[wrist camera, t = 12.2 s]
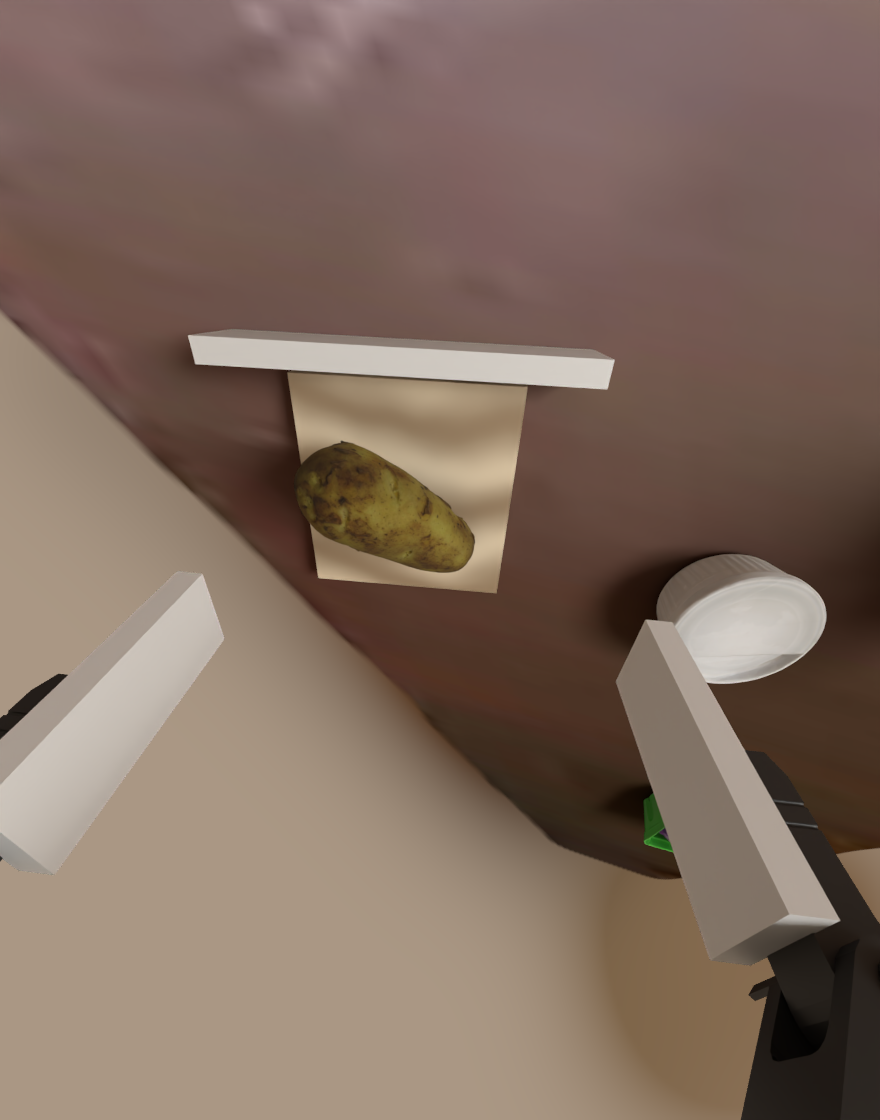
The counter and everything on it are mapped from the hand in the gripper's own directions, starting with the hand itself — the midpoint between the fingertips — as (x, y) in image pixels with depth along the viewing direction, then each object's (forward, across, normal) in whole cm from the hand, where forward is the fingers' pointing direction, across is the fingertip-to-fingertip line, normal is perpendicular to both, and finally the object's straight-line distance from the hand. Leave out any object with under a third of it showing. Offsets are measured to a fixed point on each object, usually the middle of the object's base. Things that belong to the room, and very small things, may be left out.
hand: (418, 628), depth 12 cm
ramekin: (+21, +24, -13) cm, 34 cm away
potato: (+20, -4, -5) cm, 21 cm away
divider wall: (+21, -4, +5) cm, 22 cm away
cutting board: (+21, -3, -5) cm, 22 cm away
